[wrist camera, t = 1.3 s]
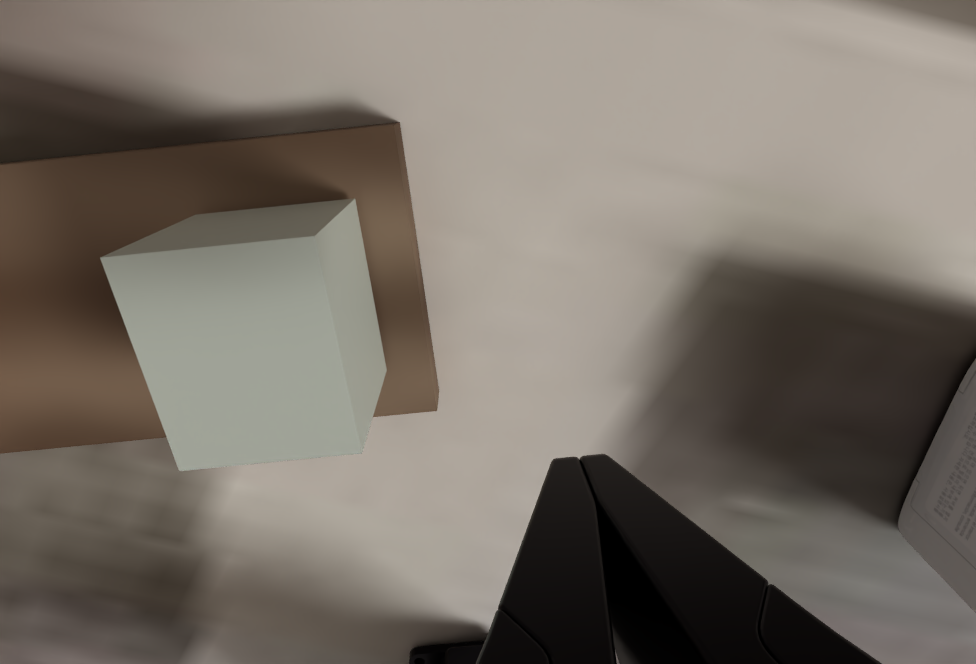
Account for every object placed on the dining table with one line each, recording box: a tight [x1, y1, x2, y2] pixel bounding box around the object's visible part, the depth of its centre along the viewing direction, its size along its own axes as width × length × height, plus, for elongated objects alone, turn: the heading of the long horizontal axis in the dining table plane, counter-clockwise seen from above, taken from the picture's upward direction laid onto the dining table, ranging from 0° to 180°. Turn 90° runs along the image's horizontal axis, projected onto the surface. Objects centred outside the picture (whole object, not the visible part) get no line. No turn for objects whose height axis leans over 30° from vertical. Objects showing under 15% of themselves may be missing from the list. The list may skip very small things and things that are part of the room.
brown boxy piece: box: [0, 122, 439, 453], centre depth 18 cm, size 10×22×6 cm, turn 95°
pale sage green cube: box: [100, 198, 387, 471], centre depth 17 cm, size 6×5×5 cm
